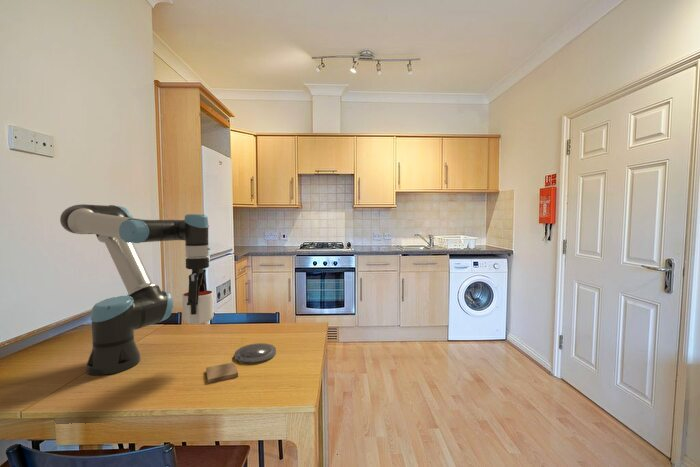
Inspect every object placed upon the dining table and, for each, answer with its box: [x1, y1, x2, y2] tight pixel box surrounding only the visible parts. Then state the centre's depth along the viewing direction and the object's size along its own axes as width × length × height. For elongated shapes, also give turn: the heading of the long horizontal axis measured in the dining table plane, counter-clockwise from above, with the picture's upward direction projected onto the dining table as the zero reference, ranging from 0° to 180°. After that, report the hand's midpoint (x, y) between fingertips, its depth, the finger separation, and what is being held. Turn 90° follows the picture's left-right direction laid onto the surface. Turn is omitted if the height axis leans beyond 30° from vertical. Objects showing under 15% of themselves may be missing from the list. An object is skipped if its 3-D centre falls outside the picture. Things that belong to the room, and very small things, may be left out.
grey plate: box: [234, 342, 277, 365], centre depth 120 cm, size 15×15×2 cm
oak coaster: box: [205, 362, 239, 384], centre depth 105 cm, size 9×9×1 cm
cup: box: [181, 289, 215, 325], centre depth 114 cm, size 10×10×10 cm
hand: (198, 318), depth 114 cm, fingers closed on cup, 10 cm apart
